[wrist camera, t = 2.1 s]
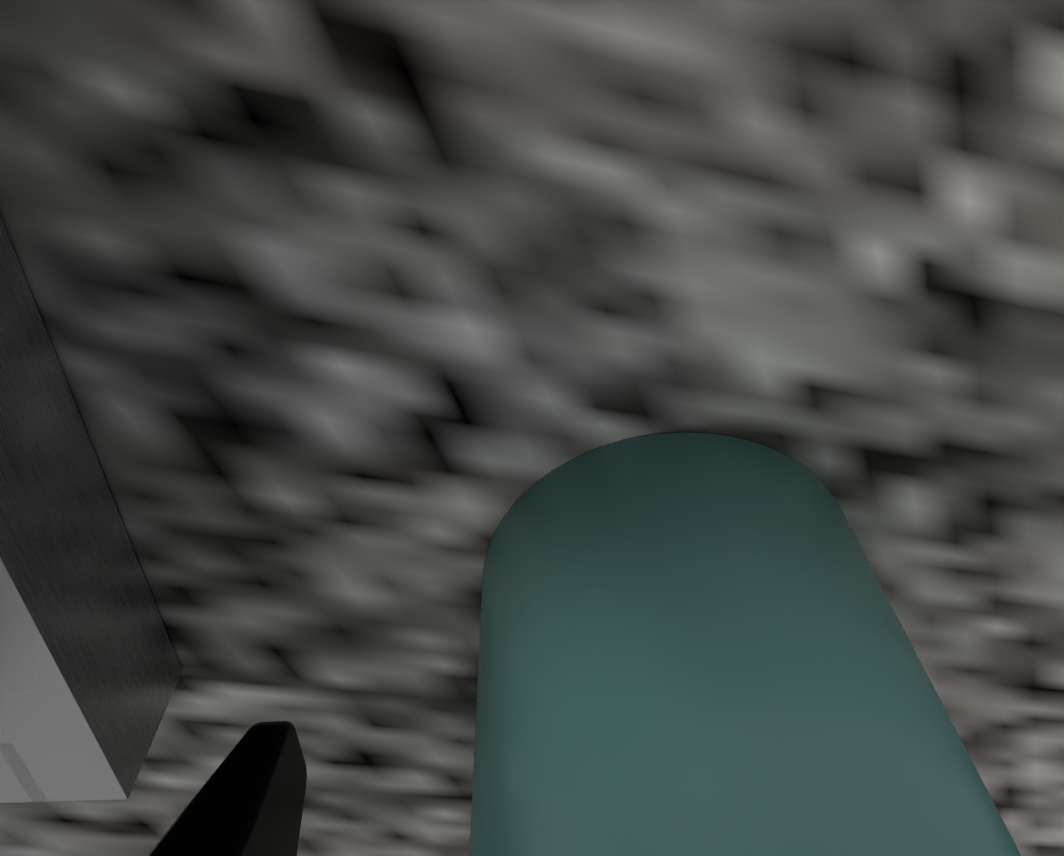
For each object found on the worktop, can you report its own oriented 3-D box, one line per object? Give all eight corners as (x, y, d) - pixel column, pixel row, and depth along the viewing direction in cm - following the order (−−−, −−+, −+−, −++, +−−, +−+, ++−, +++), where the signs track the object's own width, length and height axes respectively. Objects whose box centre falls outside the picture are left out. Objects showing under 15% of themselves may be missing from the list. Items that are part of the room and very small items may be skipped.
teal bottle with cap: (491, 703, 12) (470, 1419, 7) (471, 437, 10) (405, 1276, 4) (813, 695, 12) (1073, 1403, 7) (889, 427, 10) (1453, 1251, 4)
